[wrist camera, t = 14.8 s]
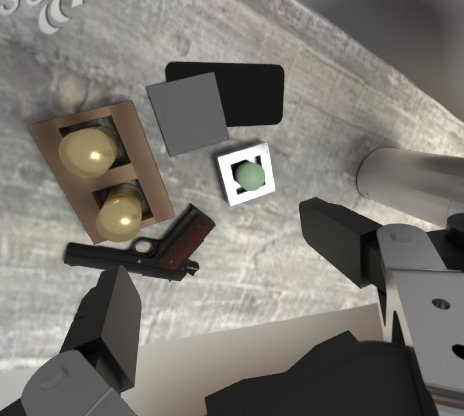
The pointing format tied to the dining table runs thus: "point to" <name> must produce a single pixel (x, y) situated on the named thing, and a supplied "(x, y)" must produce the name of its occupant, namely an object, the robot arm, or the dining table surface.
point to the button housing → (229, 164)
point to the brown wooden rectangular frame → (85, 189)
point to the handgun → (160, 259)
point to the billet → (89, 151)
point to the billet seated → (121, 214)
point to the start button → (250, 176)
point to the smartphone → (240, 89)
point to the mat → (189, 113)
